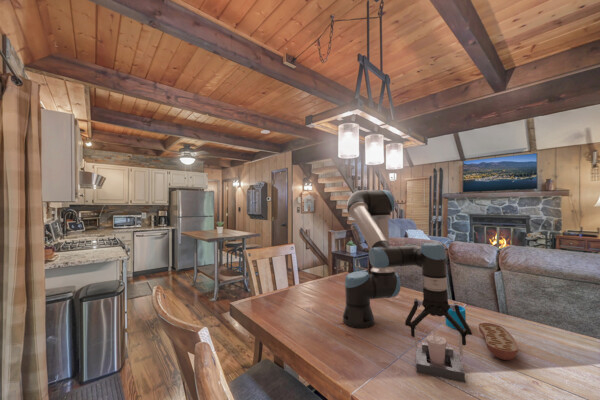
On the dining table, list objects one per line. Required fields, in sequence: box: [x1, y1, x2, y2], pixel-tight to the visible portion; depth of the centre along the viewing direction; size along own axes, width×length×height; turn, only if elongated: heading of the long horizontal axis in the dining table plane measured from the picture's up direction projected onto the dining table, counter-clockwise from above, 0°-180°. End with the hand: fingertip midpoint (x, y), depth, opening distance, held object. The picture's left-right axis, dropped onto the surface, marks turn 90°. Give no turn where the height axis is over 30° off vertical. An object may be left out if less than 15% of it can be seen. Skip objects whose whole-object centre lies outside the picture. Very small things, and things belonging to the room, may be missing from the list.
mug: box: [444, 304, 467, 330], centre depth 121 cm, size 12×8×8 cm
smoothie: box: [425, 326, 448, 366], centre depth 89 cm, size 6×6×14 cm
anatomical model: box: [477, 322, 519, 361], centre depth 99 cm, size 23×10×5 cm, turn 155°
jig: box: [415, 342, 466, 384], centre depth 89 cm, size 14×11×5 cm
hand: (437, 350), depth 89 cm, fingers open, 13 cm apart
